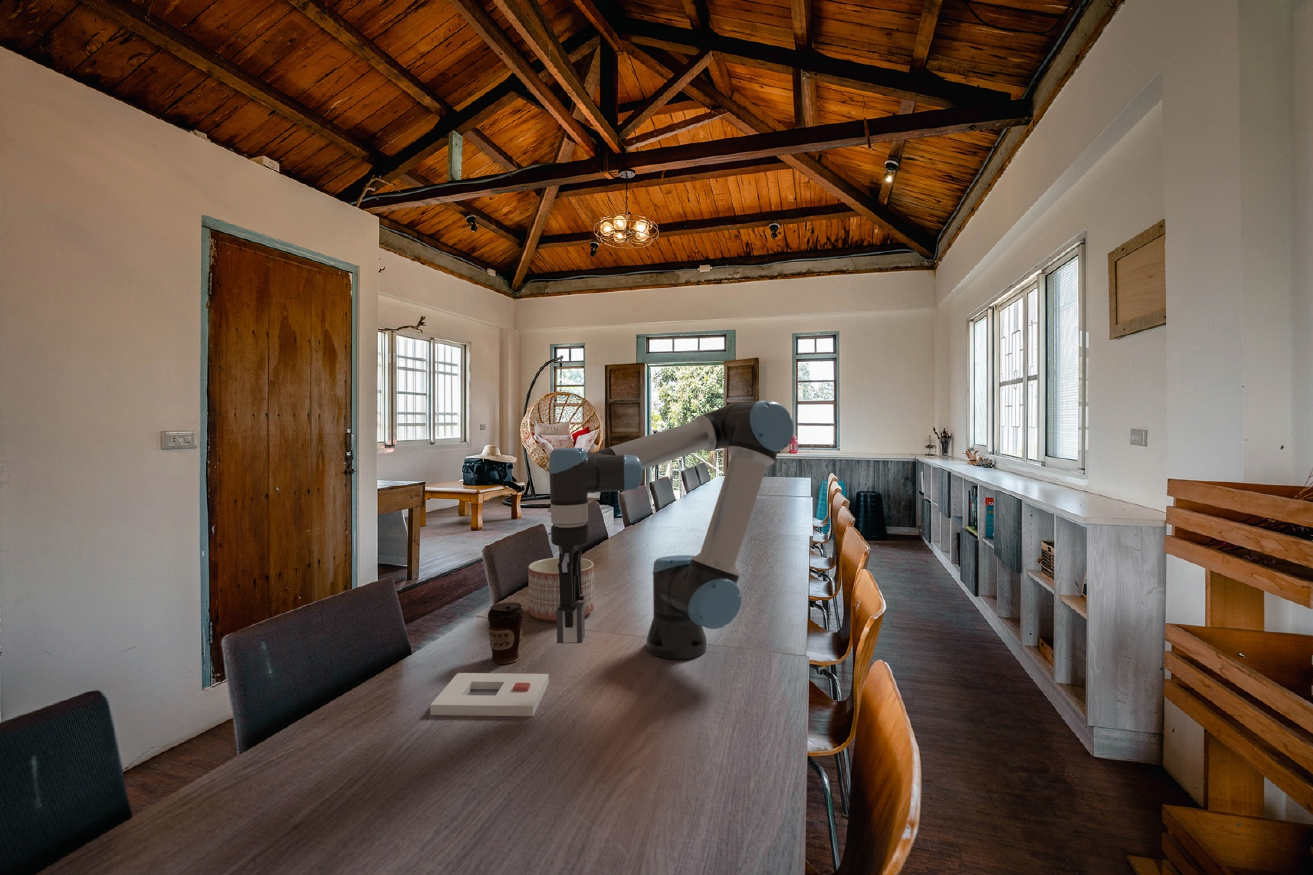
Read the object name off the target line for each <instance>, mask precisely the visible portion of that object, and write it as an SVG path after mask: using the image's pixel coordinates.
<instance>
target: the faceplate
mask: <svg viewBox="0 0 1313 875" xmlns="http://www.w3.org/2000/svg"><path fill="white" fill-rule="evenodd" d="M549 683H550V673H508V672H507V673H504V672H503V673H500V672H499V673H496V672H495V673H489V672H487V673H485V672H484V673H483V672H479V673H477V672H457V673H456V674H455V676H454V677H453V678H452V679H451V680H450V682H449V683H447V685H446V686H445V687H444V688H443V690H442V691H441V692H440V693H439V694H438V696H436V697H435V699H434V700H433V701H432V702H431V703H430V705H429V709H430V710H429V711H430V716H468V717H469V716H478V717H479V716H483V717H486V716H489V717H502V716H503V717H534V715H535V713H536V711H537V709H538V707H539V705H540V703H541V701H542V698H543V697H544V694H545V692H546V690H547V688H548V686H549Z"/></svg>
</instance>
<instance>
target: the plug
mask: <svg viewBox="0 0 1313 875" xmlns="http://www.w3.org/2000/svg"><path fill="white" fill-rule="evenodd" d="M575 607H576V609H577V643H576V644H583V641H584V638H585V637H586V632H585V631H586V630H585V629H586V628H585V622H586V621H585V617H586V616H585V612H584V602H575ZM558 608H560V604H559V606H558V607H557V623H556V644H564V643H563V611H558Z"/></svg>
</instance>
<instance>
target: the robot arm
mask: <svg viewBox="0 0 1313 875" xmlns="http://www.w3.org/2000/svg"><path fill="white" fill-rule="evenodd" d="M794 431H795V429H794V421H793V418H792V417H791V414H790V412H789V410H788V409H787V408H786V407H785V406H784V405H783V404H781V403H779V402H777V401H772V400H771V401H767V400H760V401H750V402H749V401H748V402H734V403H731V404H728V405H725V406H722V407H720V408H718V409H717V408H716V409H715V410H711V411H709V412H707V413H704V414H700V415H698V416H696V417H695V419H694V421H690V422H688V423H685V424H681V425H678V426H675V427H671V428H669V429H665V430H662V431H658V432H656V433H652V434H648V435H645V436H643V437H642V436H641V437H639V438H636V439H633V440H628V441H625V442H623V443H619V444H615V445H613V446H610V447H606V448H602V449H599V450H596V451H587V450H586V449H585V448H583V447H561V448H560V447H559V448H554V449H552V450H551V451H550V453H549V462H548V463H549V464H548V465H549V470H548V474H549V491H550V494H549V495H550V507H548V509H547V512H548V513H550V523H552V525H551V527H550V539H551V540H550V542H551V544H552V545H554V546H558V547H559V546H560V547H561V552H560V553H559V554H558V557H559V563H558V569H559V586H560V608H558V611H563V643H562V644H578V643H577V609H576V607H575V602H578V600H584V596H580V595H581V594H582V584H581V558H582V552H583V550H582V548H581V547H579V546H583V545H585V544H587V543H588V542H589V524H588V523H587V522H588V521H589V499H588V494H594V493H606V492H620V491H621V492H622V491H623V492H626V491H633V490H636V489H638V488H639V487H640V486H641V484H642V482H643V476H644V475H643V474H644V470H645V469H648V468H651V467H655V466H658V465H660V464H664V463H667V462H670V461H673V460H676V459H679V458H682V457H684V456H689V455H691V454H693V453H697V452H699V451H705V452H707V453H709V452H713V451H715V450H721V449H727V451H728V452H729V455H730V459H729V463H728V466H727V469H726V471H725V475H724V478H723V481H722V484H721V488H720V489H719V490H720V491H719V493H718V497H717V500H716V503H715V507H714V509H713V513H712V516H711V519H710V521H709V524H708V528H707V530H706V534H705V537H704V540H703V544H702V546H701V549H700V552H699V553H698V554H696V555H691V554H688V555H687V554H685V555H684V554H683V555H680V554H679V555H668V556H662V557H659V558H656V559H655V560H654V561H653V567H652V568H653V569H652V570H653V571H652V577H653V578H652V581H653V582H652V586H653V587H652V588H653V590H652V591H653V592H652V593H653V595H652V596H653V597H652V598H653V600H652V602H653V605H652V606H653V614H652V615H653V618H652V621H651V624H650V627H649V629H648V634H647V636H646V650H647V651H648V653H649V654H651V655H653V656H655V657H658V658H660V659H667V660H688V659H689V660H690V659H694V658H697V657H699V656H701V655H703V654H704V653H705V652H707V646H708V645H707V643H708V642H707V637H706V634H705V631H704V628H705V629H709V630H718V629H722V628H724V627H725V626H726V625H729V624H731V622H733V620H735V618H736V617H737V616H738V613H739V612H740V610H741V608H742V599H743V598H742V594H741V589H740V588H739V586H738V581H739V578H740V572H739V570H738V568H737V563H738V562H737V561H738V559H739V555H740V552H741V549H742V546H743V542H744V539H745V535H746V533H747V530H748V527H749V523H750V520H751V518H752V517H751V516H752V514H753V511H754V509H755V508H754V507H755V504H756V501H757V498H758V495H759V490H760V489H761V485H762V481H763V479H764V475H765V472H766V469H767V467H769V466H771V465H773V464H775V462H776V459H777V455H778V452H781V451H782V450H784V449H785V448H788V447H789V445H790V444H791V443H792V440H793V437H794V433H795V432H794Z"/></svg>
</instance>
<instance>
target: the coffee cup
mask: <svg viewBox="0 0 1313 875" xmlns="http://www.w3.org/2000/svg"><path fill="white" fill-rule="evenodd" d="M524 614H525V609H523V608H522V604H521V603H519V602H517V601H516V602H514V601H513V602H512V601H511V602H510V601H509V602H502V603H495V604H492V605H491V606H490V609H489V611H488V612H487V620H488V625H489V626H488V635H489V646H490V649H491V654H492V656H491V661H492V662H493V663H495V664H501V665H502V664H503V665H504V664H512V663H516V662H517V661H519V660H520V654H519V646H520V643H521V641H522V634H523V619H524Z"/></svg>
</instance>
